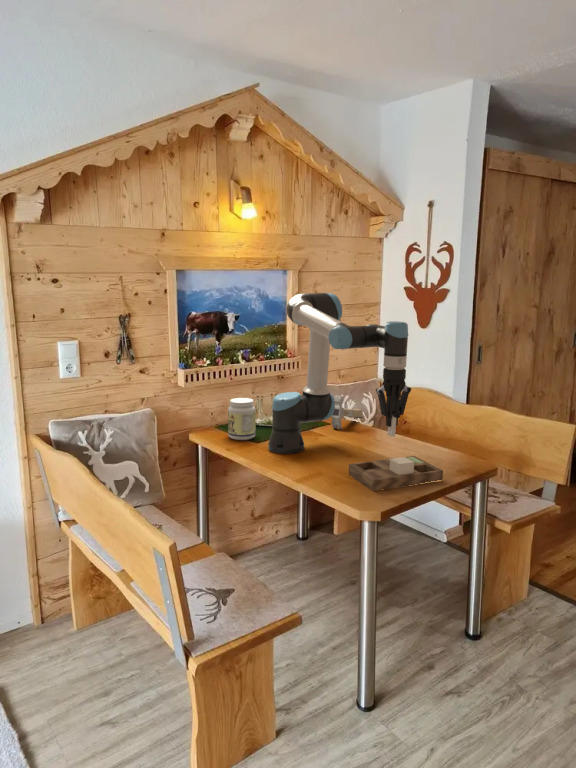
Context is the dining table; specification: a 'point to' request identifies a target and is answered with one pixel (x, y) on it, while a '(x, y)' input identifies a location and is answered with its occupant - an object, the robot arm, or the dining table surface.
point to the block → (401, 466)
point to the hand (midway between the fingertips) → (391, 435)
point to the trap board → (393, 474)
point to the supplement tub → (241, 419)
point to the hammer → (343, 412)
